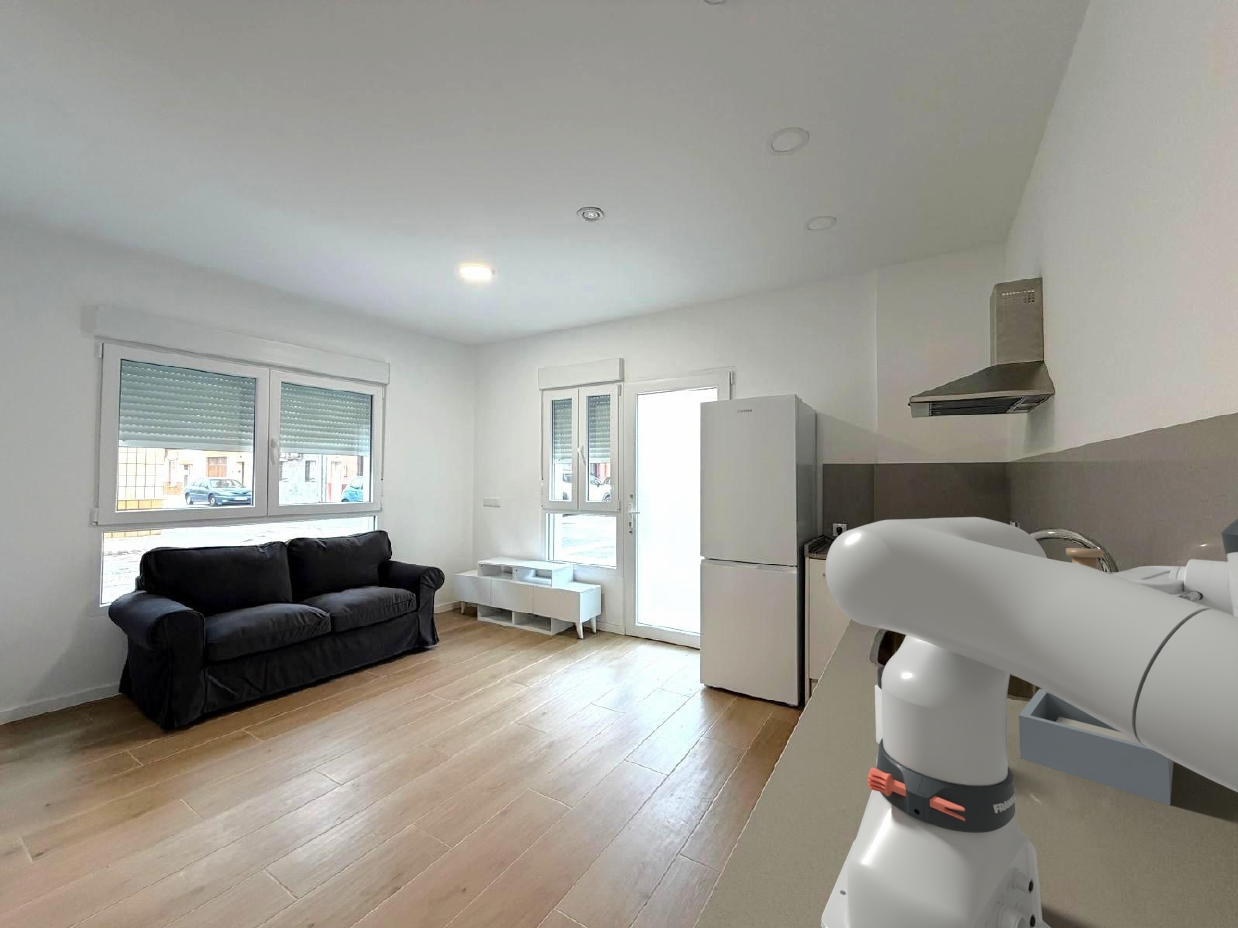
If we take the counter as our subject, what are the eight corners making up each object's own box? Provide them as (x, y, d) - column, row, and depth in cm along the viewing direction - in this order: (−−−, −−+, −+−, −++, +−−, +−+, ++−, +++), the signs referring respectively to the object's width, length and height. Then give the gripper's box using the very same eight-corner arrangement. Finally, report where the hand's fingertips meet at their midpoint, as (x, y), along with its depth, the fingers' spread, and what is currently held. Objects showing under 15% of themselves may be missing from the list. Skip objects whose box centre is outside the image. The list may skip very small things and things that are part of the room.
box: (1170, 807, 68) (1167, 754, 69) (1020, 760, 80) (1018, 714, 81) (1173, 764, 79) (1171, 718, 79) (1040, 728, 91) (1039, 688, 91)
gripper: (1191, 626, 65) (1054, 605, 76) (1228, 607, 75) (1103, 591, 87) (1188, 576, 65) (1052, 563, 77) (1225, 563, 76) (1101, 554, 87)
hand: (1079, 578), depth 82 cm, fingers closed on lid, 3 cm apart
